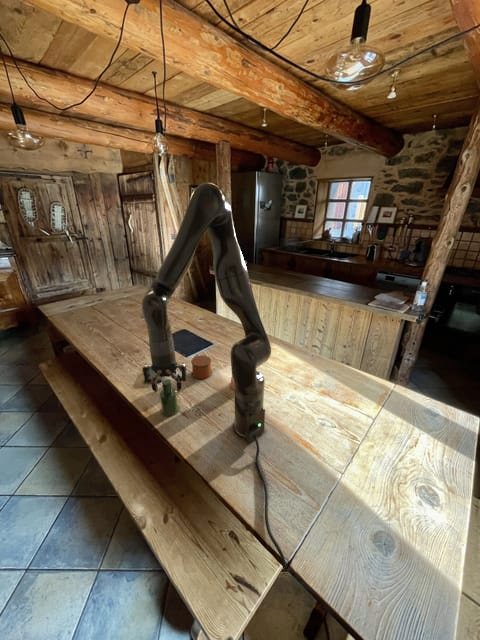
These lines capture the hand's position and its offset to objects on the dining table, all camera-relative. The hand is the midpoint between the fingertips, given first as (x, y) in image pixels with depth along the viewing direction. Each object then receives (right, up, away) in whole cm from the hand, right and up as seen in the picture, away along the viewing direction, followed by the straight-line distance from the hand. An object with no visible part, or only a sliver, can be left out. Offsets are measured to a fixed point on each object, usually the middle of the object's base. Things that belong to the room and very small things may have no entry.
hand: (167, 390), depth 92 cm
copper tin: (+9, +1, +24) cm, 26 cm away
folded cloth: (-11, 0, +23) cm, 26 cm away
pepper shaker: (+25, -3, +17) cm, 30 cm away
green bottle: (0, -8, +4) cm, 9 cm away
